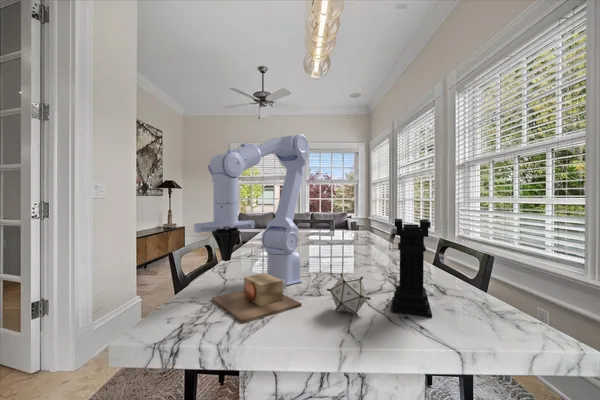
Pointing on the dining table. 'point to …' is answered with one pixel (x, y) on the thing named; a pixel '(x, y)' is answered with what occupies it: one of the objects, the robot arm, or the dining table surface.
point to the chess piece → (411, 270)
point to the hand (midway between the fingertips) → (226, 260)
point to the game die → (348, 294)
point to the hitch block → (257, 299)
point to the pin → (254, 290)
